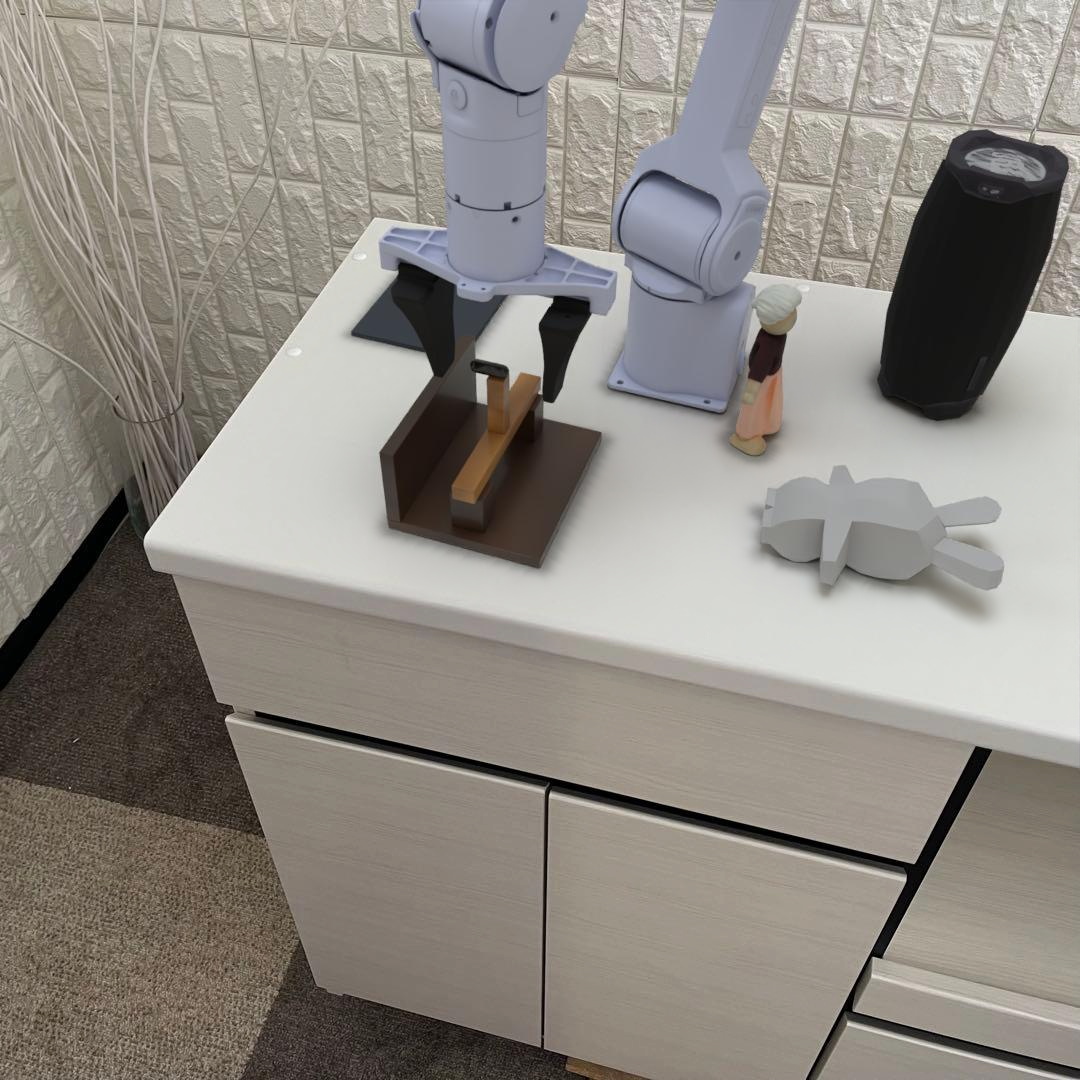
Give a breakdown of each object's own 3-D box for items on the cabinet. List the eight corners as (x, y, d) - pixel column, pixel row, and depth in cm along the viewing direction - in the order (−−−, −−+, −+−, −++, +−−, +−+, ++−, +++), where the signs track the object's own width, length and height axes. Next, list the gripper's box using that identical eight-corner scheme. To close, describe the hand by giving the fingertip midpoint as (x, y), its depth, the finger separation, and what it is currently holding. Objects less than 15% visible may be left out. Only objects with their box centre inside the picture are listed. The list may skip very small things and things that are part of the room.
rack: (601, 439, 79) (607, 365, 74) (539, 568, 70) (541, 493, 65) (465, 407, 82) (462, 333, 77) (387, 527, 72) (378, 452, 67)
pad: (518, 279, 94) (518, 275, 94) (462, 360, 86) (462, 356, 86) (415, 258, 97) (415, 254, 96) (351, 335, 88) (350, 331, 88)
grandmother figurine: (776, 468, 77) (811, 321, 68) (723, 460, 78) (751, 313, 69) (780, 403, 83) (813, 259, 74) (731, 397, 83) (758, 253, 74)
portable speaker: (859, 355, 87) (925, 122, 73) (974, 361, 87) (1062, 128, 73) (876, 420, 81) (952, 180, 67) (999, 427, 81) (1101, 187, 67)
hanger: (541, 389, 77) (542, 314, 73) (474, 505, 69) (471, 428, 64) (505, 381, 78) (505, 306, 73) (435, 494, 69) (430, 417, 65)
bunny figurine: (773, 443, 73) (1006, 464, 69) (769, 498, 76) (991, 521, 73) (757, 537, 67) (1012, 566, 63) (753, 593, 70) (995, 623, 66)
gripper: (347, 195, 59) (370, 391, 68) (597, 244, 55) (584, 443, 65) (400, 142, 63) (415, 332, 73) (633, 184, 60) (617, 378, 70)
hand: (497, 380), depth 69 cm, fingers open, 7 cm apart
